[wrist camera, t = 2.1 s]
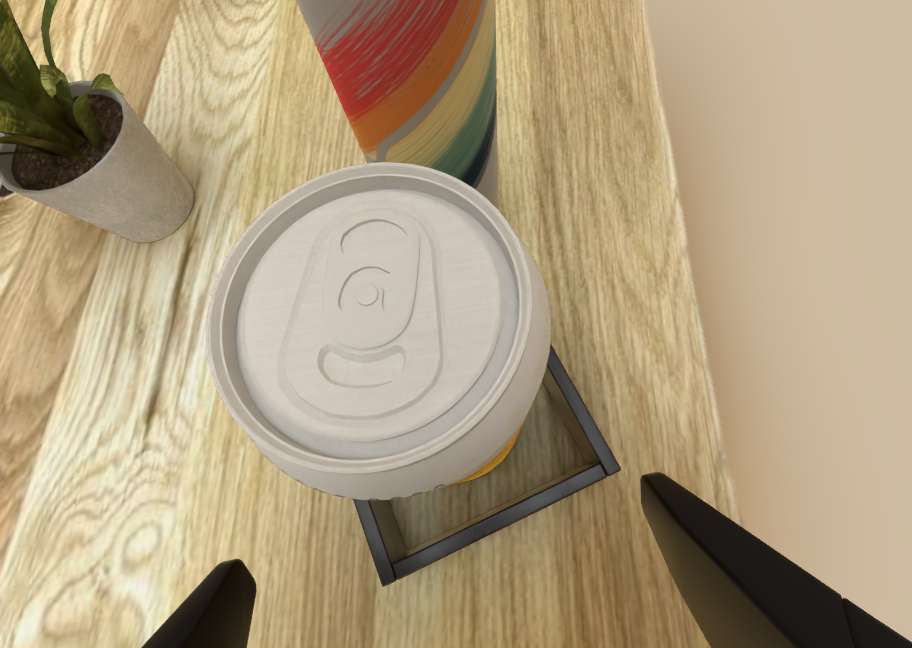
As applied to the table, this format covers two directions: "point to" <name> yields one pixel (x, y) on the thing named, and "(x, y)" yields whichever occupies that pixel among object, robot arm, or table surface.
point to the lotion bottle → (415, 81)
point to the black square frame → (600, 464)
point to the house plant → (82, 145)
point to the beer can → (380, 332)
